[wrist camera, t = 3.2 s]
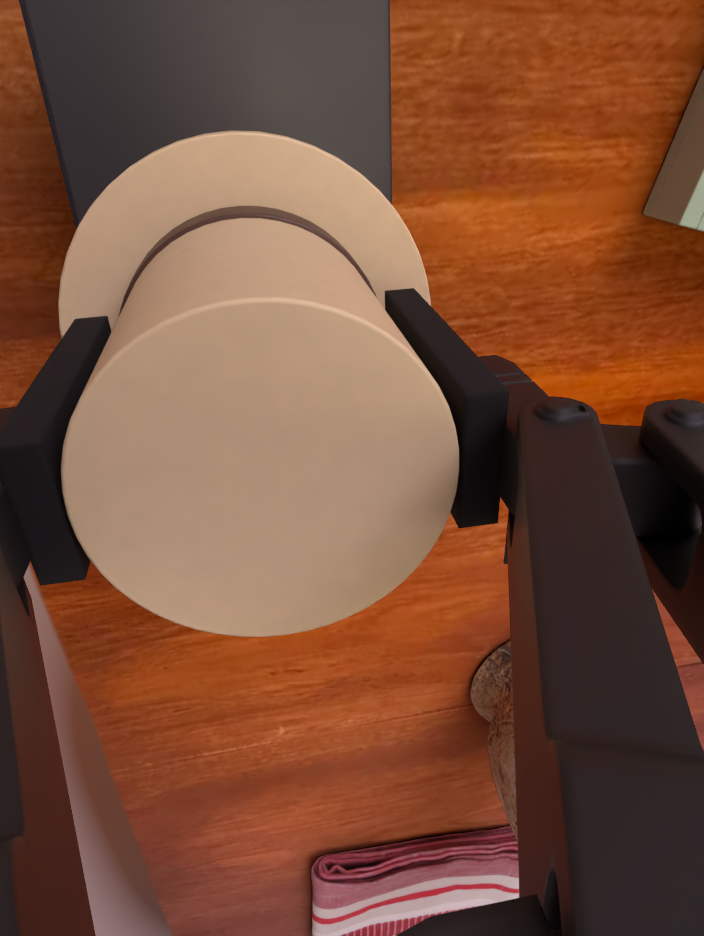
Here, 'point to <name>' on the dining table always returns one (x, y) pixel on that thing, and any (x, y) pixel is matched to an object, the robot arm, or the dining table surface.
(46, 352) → the dining table surface
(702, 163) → the tray
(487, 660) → the vase
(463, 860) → the dish towel
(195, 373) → the hat
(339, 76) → the black rectangular block
